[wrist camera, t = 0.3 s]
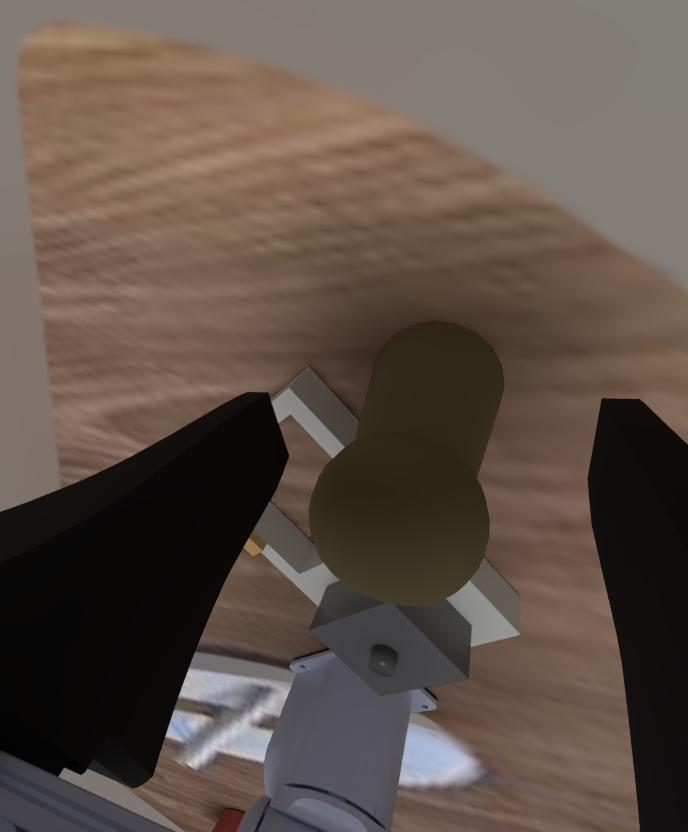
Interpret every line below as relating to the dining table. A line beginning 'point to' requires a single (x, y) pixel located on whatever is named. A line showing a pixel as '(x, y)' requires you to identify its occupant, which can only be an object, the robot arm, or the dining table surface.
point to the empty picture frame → (367, 618)
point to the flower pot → (229, 821)
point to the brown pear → (413, 471)
